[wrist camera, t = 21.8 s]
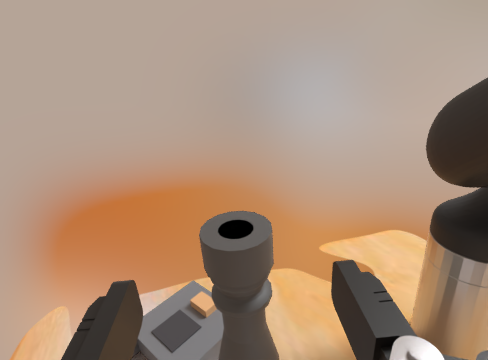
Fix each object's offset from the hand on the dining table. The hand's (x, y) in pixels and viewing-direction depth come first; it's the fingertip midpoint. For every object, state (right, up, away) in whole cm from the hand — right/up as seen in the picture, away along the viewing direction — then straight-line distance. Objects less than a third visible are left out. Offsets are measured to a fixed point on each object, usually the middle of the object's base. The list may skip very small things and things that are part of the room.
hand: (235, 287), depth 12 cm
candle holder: (+2, -23, +21) cm, 31 cm away
